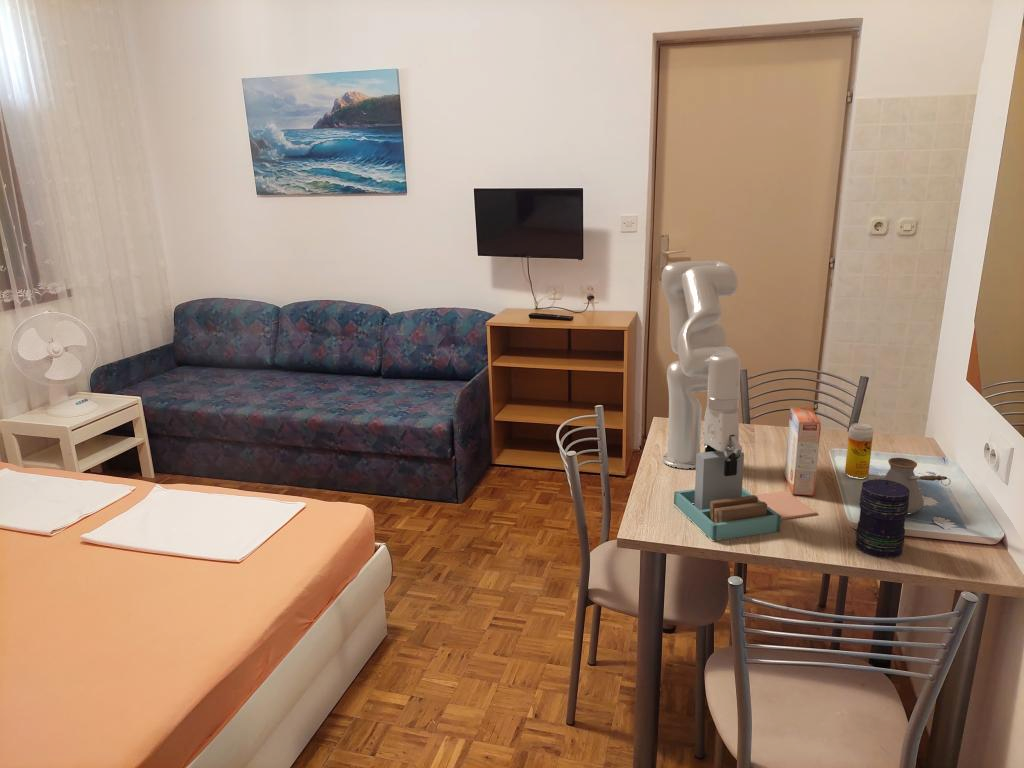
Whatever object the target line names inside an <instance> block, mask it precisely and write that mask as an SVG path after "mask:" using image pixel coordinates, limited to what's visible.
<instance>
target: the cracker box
mask: <svg viewBox="0 0 1024 768" xmlns="http://www.w3.org/2000/svg"><path fill="white" fill-rule="evenodd" d="M821 430H822V422H821V421H820V419H819V418H818V416H817V414H816V413H815V412H814V410H813V409H812V408H811V407H808V406H803V407H802V406H791V407H789V421H788V431H787V433H788V434H787V444H786V453H785V454H786V455H785V464H784V465H785V466H784V467H785V469H784V477H785V479H786V483H787V485H788V486H789V489H790V492H791V493H792V494H791V495H793V496H796V495H797V496H809V497H810V496H811V497H812V496H813V497H814V495H815V489H816V479H817V468H818V461H819V460H818V459H819V458H818V457H819V448H820V441H821V440H820V438H821Z"/></svg>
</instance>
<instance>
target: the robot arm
mask: <svg viewBox="0 0 1024 768" xmlns="http://www.w3.org/2000/svg"><path fill="white" fill-rule="evenodd" d="M737 276H738V275H737V273H736V270H734V268H733V267H732V266H731V265H730V264H727V263H725V262H723V261H720V260H701V261H697V260H696V261H691V260H690V261H677V262H671V263H669V264H667V265H665V266H664V268H663V269H662V272H661V287H662V291H663V294H664V297H665V299H666V302H667V306H668V311H669V332H670V333H669V334H670V335H669V338H670V346H671V350H672V352H673V353H674V354H676V355H678V359H679V360H676V361H673V362H671V363H670V364H669V365H668V367H667V370H666V380H667V381H666V382H667V388H668V427H667V429H668V433H667V442H666V447H667V452H665V453H664V454H663V455H662V458H661V459H662V462H663V464H665V465H666V464H667V466H668V465H669V467H671V466H672V468H675V467H677V468H676V469H682V468H683V469H684V470H686V469H687V470H688V469H689V468H691V469H696V453H701V441H702V440H703V442H704V444H703V446H704V452H712V451H719V452H723V451H724V454H725V458H726V460H724V476H733V475H736V474H737V461H738V460H739V457H740V453H741V452H742V450H743V448H742V446H741V444H740V442H739V441H740V440H739V439H740V426H739V425H740V424H739V423H740V422H739V421H740V420H739V413H738V411H739V409H740V407H739V406H740V405H739V404H740V388H741V385H740V383H741V365H742V364H741V361H742V360H741V358H740V356H739V354H738V353H737V352H736V351H735V350H734V349H733V348H732V347H730V346H729V347H728V341H727V340H728V339H727V332H726V329H725V328H724V326H723V325H722V324H721V323H719V321H720V320H721V318H722V316H723V311H722V307H721V302H720V299H719V297H732V296H733V295H734V294H735V293H736V291H737V288H738V277H737ZM705 392H707V396H706V397H707V401H706V409H705V412H704V418H703V426H702V412H703V407H702V403H701V402H700V399H698V398H697V397H696V396H695V395H694V394H695V393H705ZM701 438H702V440H701ZM728 452H732V454H731V455H730V456H729V453H728ZM689 470H690V469H689Z"/></svg>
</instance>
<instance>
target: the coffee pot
mask: <svg viewBox="0 0 1024 768" xmlns="http://www.w3.org/2000/svg"><path fill="white" fill-rule="evenodd" d="M888 464H889V466H890V468H889V470H888V471H887V473H886V474H885V475H884V478H883V479H882V480H889V481H894V482H897V483H900V484H903V485H905V486H906V487H908V488H909V490H910V495H909V507H908V513H913V514H914V513H916V512H918V511H920V510H921V509H922V507H924V505H925V500H924V498H923V494H922V492H921V489H920V486H919V484H918V481H917V480H921V481H931V482H932V481H940V484H942V485H943V486H946V487H947V486H949V485H950V484H951V479H950V478H948V477H947V476H945V475H942V476H941V475H934V474H933V475H932V474H931V475H920V476H918V475H916V476H915V472H914V470H915V468H916V467H917V466H918V463H917V462H916V461H914V460H912V459H909V458H905V457H891V458H889V459H888ZM945 480H948V482H949V483H948V484H944V483H943V481H945ZM908 513H907V514H908Z"/></svg>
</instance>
